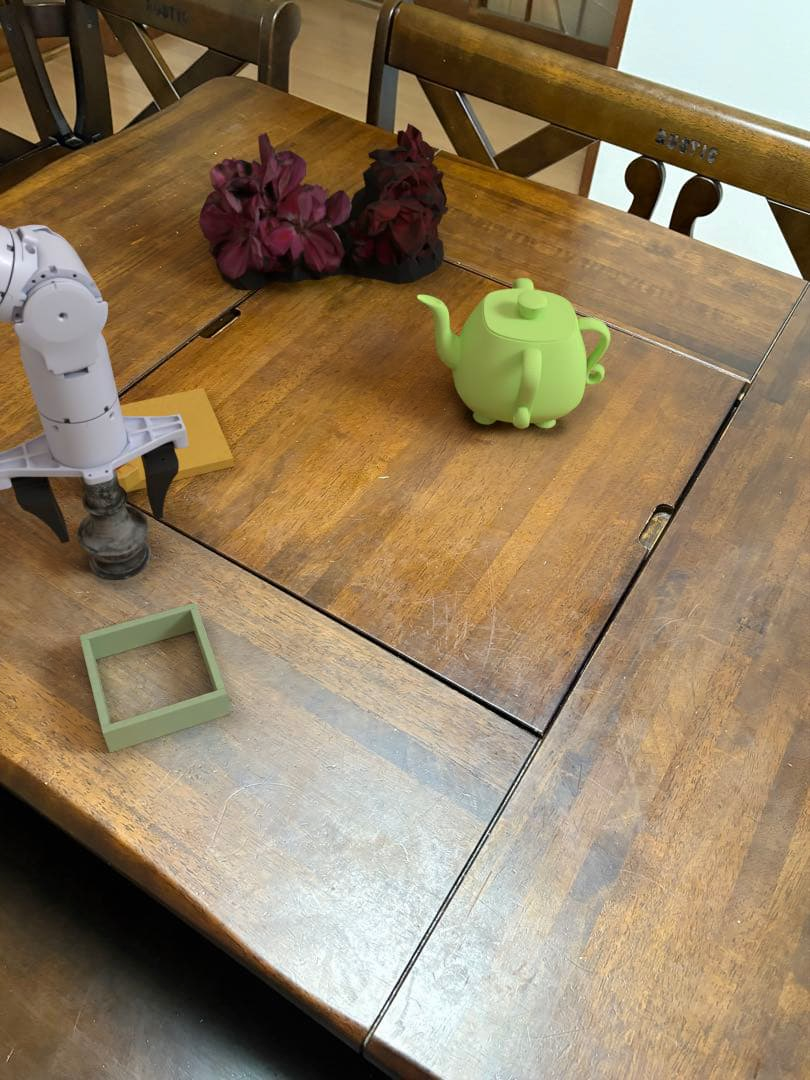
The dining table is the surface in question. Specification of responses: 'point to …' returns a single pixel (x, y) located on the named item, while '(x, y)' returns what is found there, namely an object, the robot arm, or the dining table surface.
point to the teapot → (519, 355)
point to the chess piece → (113, 531)
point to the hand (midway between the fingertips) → (110, 522)
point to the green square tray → (166, 717)
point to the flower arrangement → (326, 218)
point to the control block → (202, 436)
